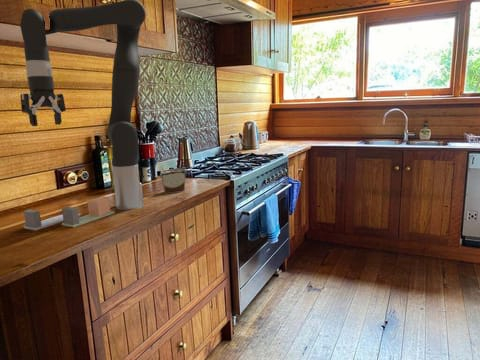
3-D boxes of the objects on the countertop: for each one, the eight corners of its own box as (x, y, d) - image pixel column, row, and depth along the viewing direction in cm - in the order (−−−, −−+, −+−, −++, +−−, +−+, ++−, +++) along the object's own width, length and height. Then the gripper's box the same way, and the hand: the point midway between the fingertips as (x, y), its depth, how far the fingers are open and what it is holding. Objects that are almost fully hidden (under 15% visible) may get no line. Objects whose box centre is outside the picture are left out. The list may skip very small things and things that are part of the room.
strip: (70, 213, 133) (68, 198, 132) (81, 215, 130) (79, 200, 129) (23, 228, 118) (21, 211, 117) (35, 230, 115) (32, 213, 114)
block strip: (103, 211, 134) (101, 196, 133) (114, 213, 132) (113, 197, 131) (61, 225, 120) (59, 208, 119) (73, 227, 117) (71, 210, 116)
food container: (182, 188, 175) (180, 167, 173) (187, 190, 170) (186, 169, 168) (157, 192, 168) (155, 170, 166) (162, 194, 163) (160, 172, 161)
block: (100, 210, 133) (99, 197, 132) (110, 212, 130) (109, 198, 129) (89, 214, 129) (87, 200, 128) (99, 216, 126) (97, 202, 125)
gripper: (52, 77, 129) (58, 124, 133) (11, 75, 117) (19, 126, 120) (66, 76, 126) (72, 124, 129) (25, 73, 114) (33, 126, 117)
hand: (46, 125), depth 125 cm, fingers open, 8 cm apart
